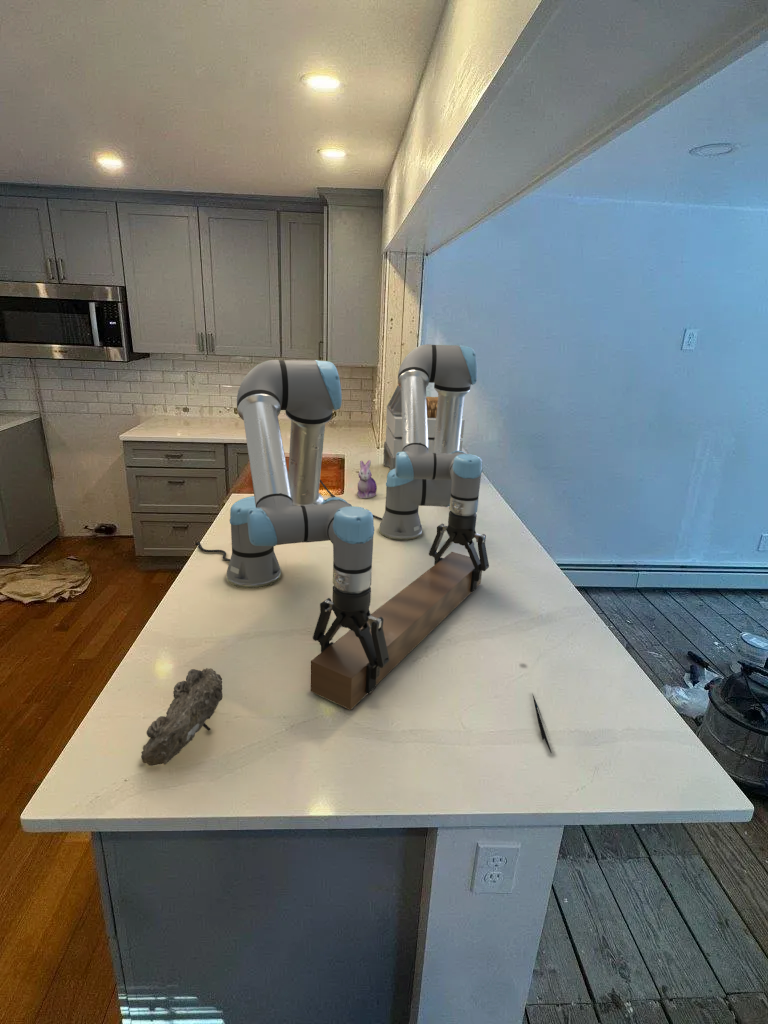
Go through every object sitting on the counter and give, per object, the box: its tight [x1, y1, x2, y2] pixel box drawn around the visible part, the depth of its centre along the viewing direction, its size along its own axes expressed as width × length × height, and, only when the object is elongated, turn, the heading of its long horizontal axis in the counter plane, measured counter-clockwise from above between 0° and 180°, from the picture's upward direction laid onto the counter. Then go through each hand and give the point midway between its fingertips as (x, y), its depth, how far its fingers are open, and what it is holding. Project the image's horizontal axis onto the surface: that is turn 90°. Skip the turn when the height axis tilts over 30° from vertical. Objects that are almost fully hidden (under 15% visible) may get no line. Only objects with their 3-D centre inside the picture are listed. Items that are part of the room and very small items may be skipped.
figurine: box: [356, 459, 378, 499], centre depth 236 cm, size 9×10×15 cm
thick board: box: [309, 551, 483, 711], centre depth 139 cm, size 66×10×7 cm, turn 149°
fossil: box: [140, 667, 224, 767], centre depth 103 cm, size 22×10×15 cm
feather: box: [522, 663, 555, 753], centre depth 115 cm, size 2×28×2 cm
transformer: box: [383, 385, 465, 471], centre depth 268 cm, size 34×33×41 cm
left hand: (349, 680), depth 118 cm, fingers closed on thick board, 10 cm apart
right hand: (455, 584), depth 161 cm, fingers closed on thick board, 10 cm apart
